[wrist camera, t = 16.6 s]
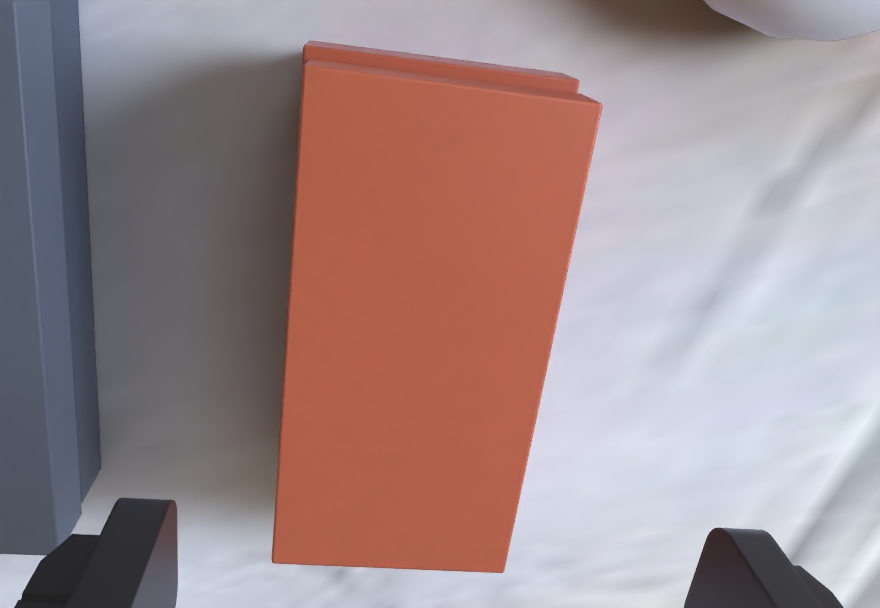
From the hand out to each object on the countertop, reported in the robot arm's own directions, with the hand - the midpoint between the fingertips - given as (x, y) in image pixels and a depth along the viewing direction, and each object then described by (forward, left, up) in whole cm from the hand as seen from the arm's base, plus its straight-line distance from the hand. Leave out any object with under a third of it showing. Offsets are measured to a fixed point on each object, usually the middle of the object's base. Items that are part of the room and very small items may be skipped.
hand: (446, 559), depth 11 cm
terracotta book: (0, 0, -8) cm, 8 cm away
